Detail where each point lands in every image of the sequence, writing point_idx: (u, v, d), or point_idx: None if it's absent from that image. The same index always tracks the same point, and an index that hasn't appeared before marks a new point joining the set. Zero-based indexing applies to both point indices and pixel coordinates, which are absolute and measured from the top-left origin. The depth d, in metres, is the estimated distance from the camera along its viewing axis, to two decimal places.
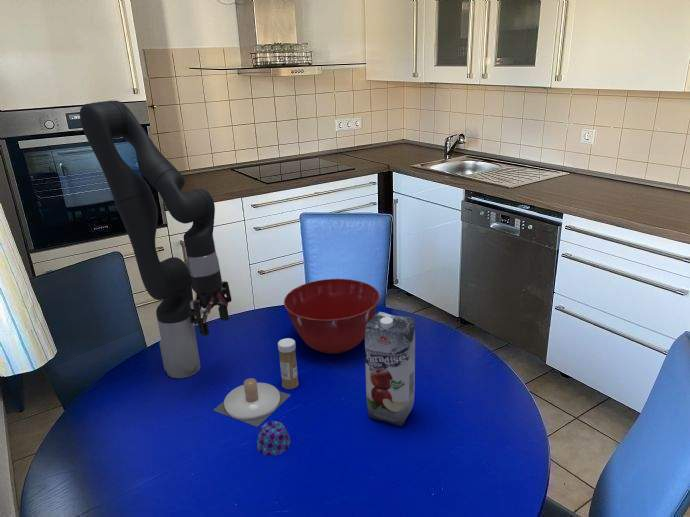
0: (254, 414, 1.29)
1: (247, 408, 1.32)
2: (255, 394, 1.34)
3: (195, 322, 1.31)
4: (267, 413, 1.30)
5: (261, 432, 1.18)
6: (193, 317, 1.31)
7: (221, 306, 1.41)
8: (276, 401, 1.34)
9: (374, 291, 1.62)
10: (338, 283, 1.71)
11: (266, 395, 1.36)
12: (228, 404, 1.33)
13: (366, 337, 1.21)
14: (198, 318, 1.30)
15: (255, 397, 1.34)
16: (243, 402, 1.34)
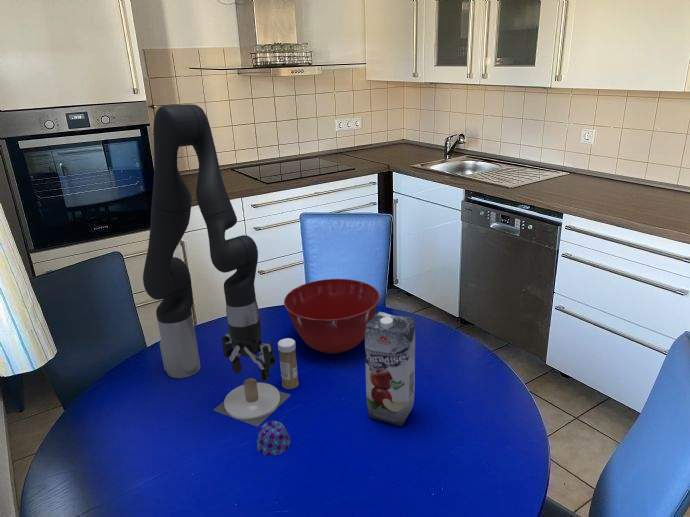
0: (254, 414, 1.29)
1: (247, 408, 1.32)
2: (255, 394, 1.34)
3: (272, 364, 1.28)
4: (267, 413, 1.30)
5: (261, 432, 1.18)
6: None
7: (236, 358, 1.33)
8: (276, 401, 1.34)
9: (374, 291, 1.62)
10: (338, 283, 1.71)
11: (266, 395, 1.36)
12: (228, 404, 1.33)
13: (366, 337, 1.21)
14: None
15: (255, 397, 1.34)
16: (243, 402, 1.34)
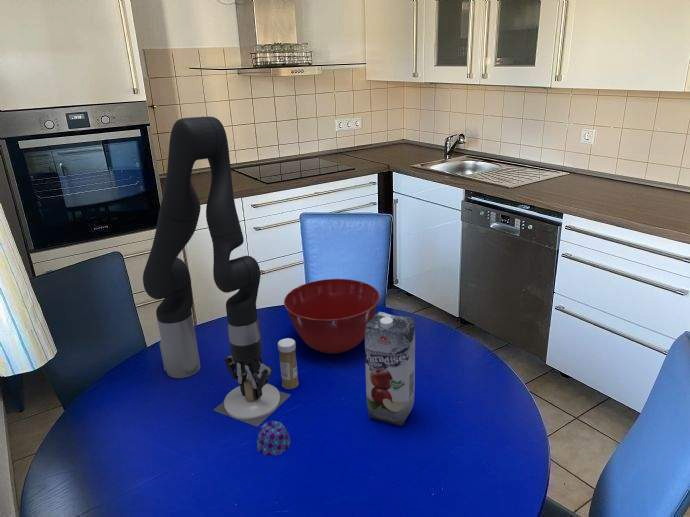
0: (254, 414, 1.29)
1: (247, 408, 1.32)
2: None
3: (265, 384, 1.31)
4: (267, 413, 1.30)
5: (261, 432, 1.18)
6: None
7: (244, 380, 1.34)
8: (276, 401, 1.34)
9: (374, 291, 1.62)
10: (338, 283, 1.71)
11: (266, 395, 1.36)
12: (228, 404, 1.33)
13: (366, 337, 1.21)
14: None
15: None
16: (243, 402, 1.34)
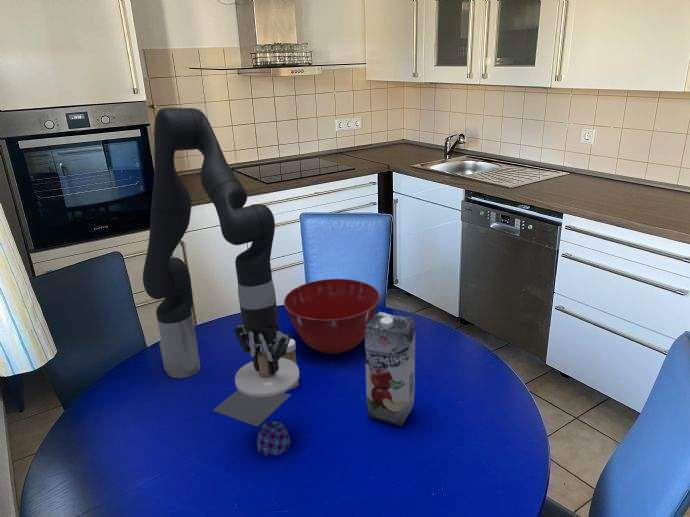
0: (271, 390, 1.11)
1: (262, 383, 1.14)
2: None
3: None
4: (285, 389, 1.13)
5: (261, 432, 1.18)
6: None
7: (258, 352, 1.16)
8: (295, 375, 1.16)
9: (374, 291, 1.62)
10: (338, 283, 1.71)
11: (283, 370, 1.18)
12: (240, 380, 1.15)
13: (366, 337, 1.21)
14: None
15: None
16: (257, 378, 1.16)
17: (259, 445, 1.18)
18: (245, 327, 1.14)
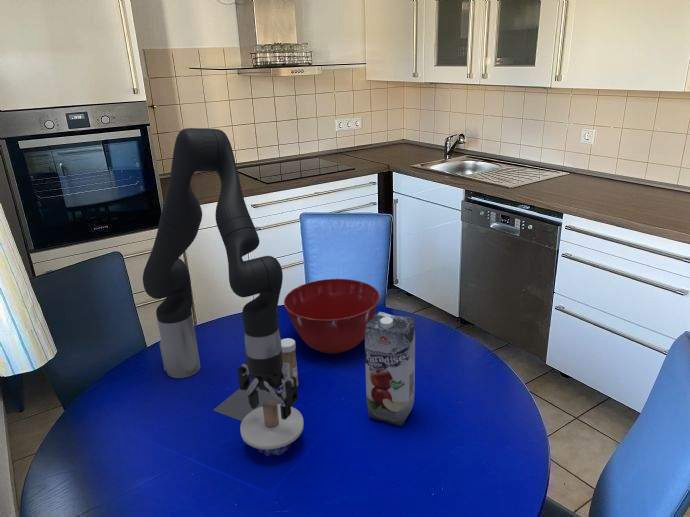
0: (275, 442, 1.13)
1: (267, 435, 1.16)
2: (276, 419, 1.18)
3: (295, 401, 1.13)
4: (290, 441, 1.14)
5: None
6: None
7: (253, 391, 1.18)
8: (299, 427, 1.18)
9: (374, 291, 1.62)
10: (338, 283, 1.71)
11: (288, 420, 1.20)
12: (245, 430, 1.17)
13: (366, 337, 1.21)
14: None
15: (275, 422, 1.18)
16: (262, 428, 1.18)
17: None
18: (250, 372, 1.15)
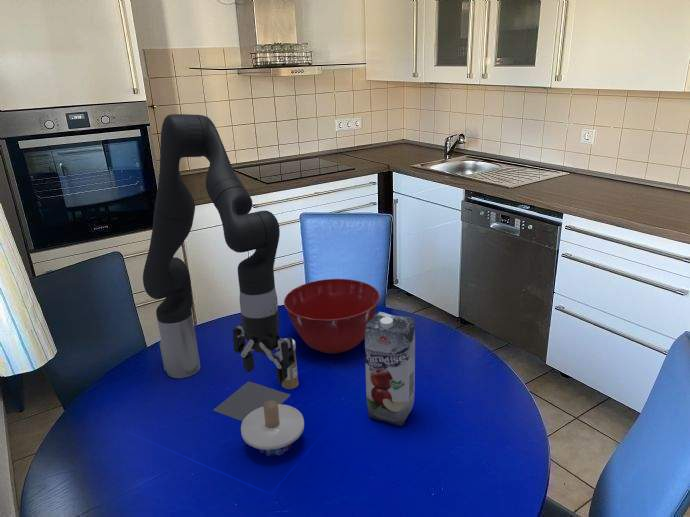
0: (277, 442, 1.13)
1: (268, 435, 1.16)
2: (276, 419, 1.18)
3: (291, 363, 1.09)
4: (291, 441, 1.15)
5: None
6: None
7: (248, 354, 1.15)
8: (300, 426, 1.18)
9: (374, 291, 1.62)
10: (338, 283, 1.71)
11: (289, 420, 1.20)
12: (246, 430, 1.17)
13: (366, 337, 1.21)
14: None
15: (276, 422, 1.18)
16: (263, 428, 1.18)
17: None
18: (246, 334, 1.11)
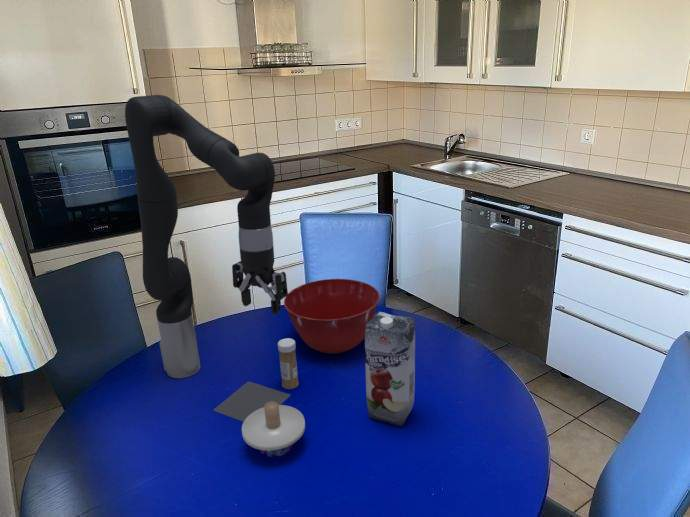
0: (278, 443, 1.13)
1: (269, 436, 1.15)
2: (277, 420, 1.17)
3: (285, 295, 1.20)
4: (292, 442, 1.14)
5: None
6: None
7: (246, 289, 1.25)
8: (301, 427, 1.18)
9: (374, 291, 1.62)
10: (338, 283, 1.71)
11: (289, 420, 1.20)
12: (247, 431, 1.17)
13: (366, 337, 1.21)
14: None
15: (277, 423, 1.18)
16: (263, 429, 1.18)
17: None
18: (244, 269, 1.22)
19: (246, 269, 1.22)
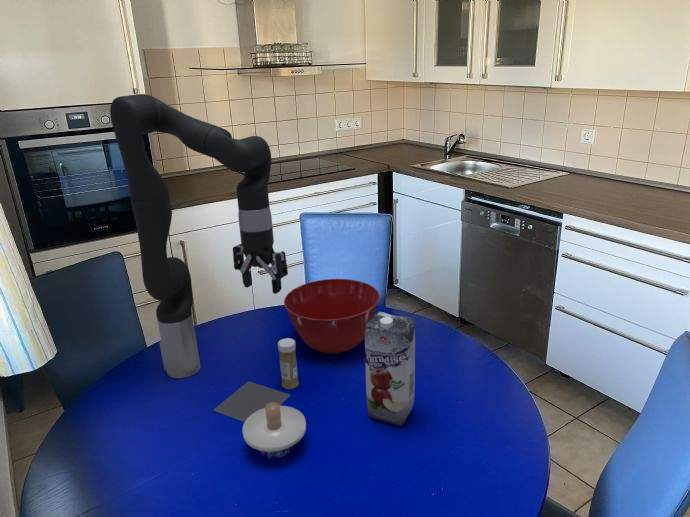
0: (278, 444, 1.13)
1: (269, 437, 1.15)
2: (278, 420, 1.17)
3: (285, 274, 1.24)
4: (292, 443, 1.14)
5: None
6: None
7: (247, 271, 1.29)
8: (302, 429, 1.17)
9: (374, 291, 1.62)
10: (338, 283, 1.71)
11: (291, 421, 1.20)
12: (248, 432, 1.17)
13: (366, 337, 1.21)
14: None
15: (278, 424, 1.17)
16: (264, 429, 1.17)
17: None
18: (244, 251, 1.26)
19: (246, 250, 1.26)
